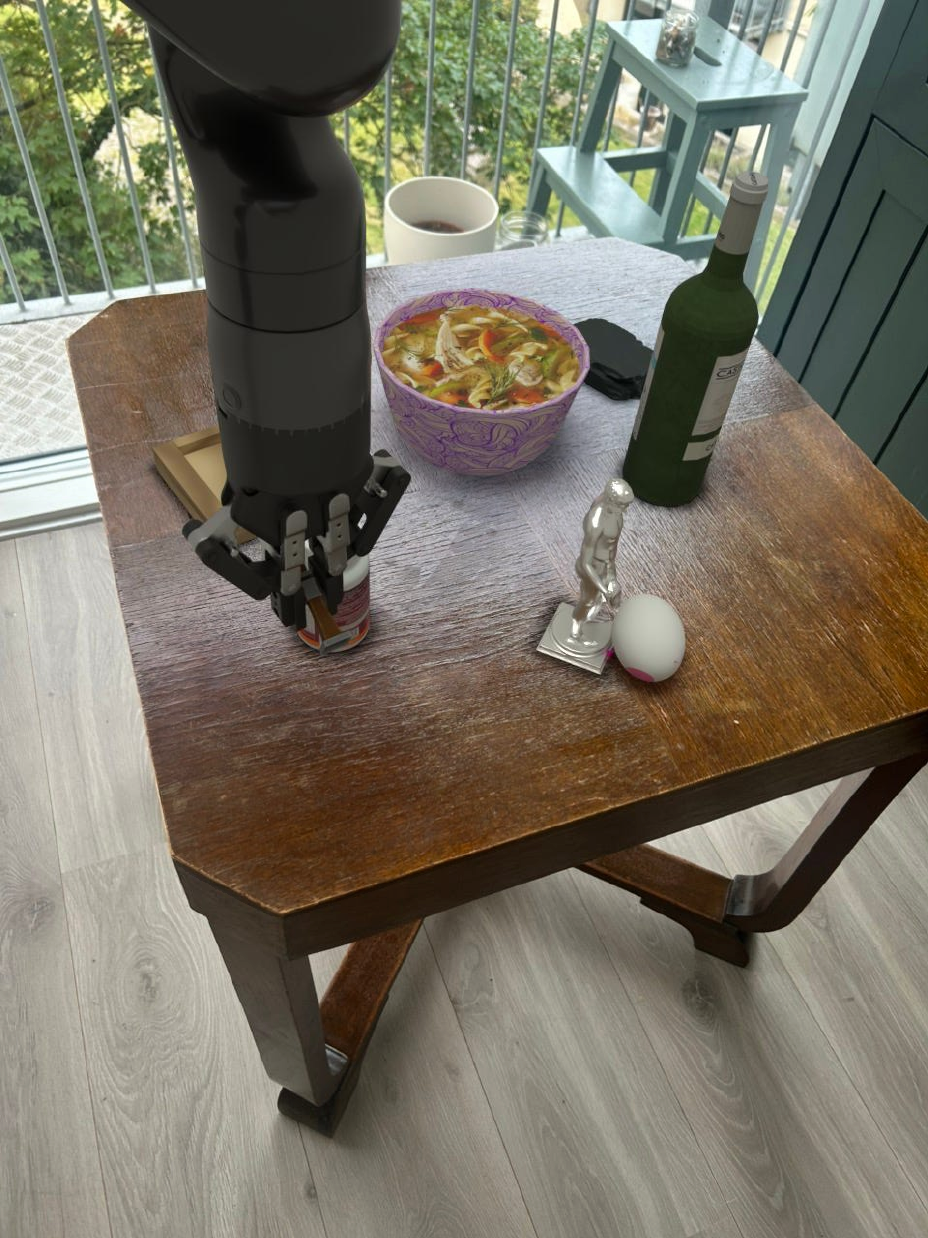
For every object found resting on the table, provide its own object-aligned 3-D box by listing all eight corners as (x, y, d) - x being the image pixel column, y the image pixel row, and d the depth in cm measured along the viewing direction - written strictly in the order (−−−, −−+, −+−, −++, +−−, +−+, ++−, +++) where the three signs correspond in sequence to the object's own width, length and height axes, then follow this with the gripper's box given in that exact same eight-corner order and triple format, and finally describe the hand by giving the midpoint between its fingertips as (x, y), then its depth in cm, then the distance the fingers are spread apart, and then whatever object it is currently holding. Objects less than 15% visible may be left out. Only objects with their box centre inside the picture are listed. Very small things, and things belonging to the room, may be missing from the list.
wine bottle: (697, 514, 92) (806, 210, 69) (616, 498, 92) (697, 191, 70) (702, 463, 97) (804, 165, 74) (625, 448, 98) (703, 147, 75)
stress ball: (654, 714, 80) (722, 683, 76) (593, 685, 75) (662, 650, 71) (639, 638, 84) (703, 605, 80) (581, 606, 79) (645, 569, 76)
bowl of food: (518, 372, 105) (532, 274, 96) (606, 487, 93) (630, 388, 85) (345, 406, 99) (342, 305, 90) (416, 534, 87) (421, 432, 78)
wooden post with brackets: (286, 547, 61) (295, 517, 57) (340, 657, 60) (353, 634, 56) (260, 556, 60) (267, 526, 56) (314, 668, 59) (325, 646, 55)
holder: (219, 552, 84) (215, 530, 82) (156, 469, 90) (151, 446, 88) (318, 512, 88) (317, 490, 86) (251, 435, 94) (249, 413, 92)
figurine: (589, 699, 76) (637, 539, 63) (516, 660, 78) (547, 496, 65) (634, 634, 81) (687, 472, 68) (563, 599, 83) (602, 434, 70)
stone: (620, 409, 102) (625, 387, 100) (542, 356, 107) (546, 333, 105) (670, 383, 106) (676, 360, 103) (593, 332, 111) (597, 310, 109)
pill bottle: (379, 608, 81) (380, 509, 72) (356, 663, 77) (355, 565, 68) (310, 591, 82) (303, 492, 73) (284, 645, 78) (273, 546, 69)
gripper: (373, 303, 51) (371, 538, 64) (124, 376, 45) (177, 619, 58) (454, 376, 47) (434, 610, 60) (193, 466, 41) (234, 704, 54)
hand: (308, 614), depth 59 cm, fingers closed on wooden post with brackets, 1 cm apart
